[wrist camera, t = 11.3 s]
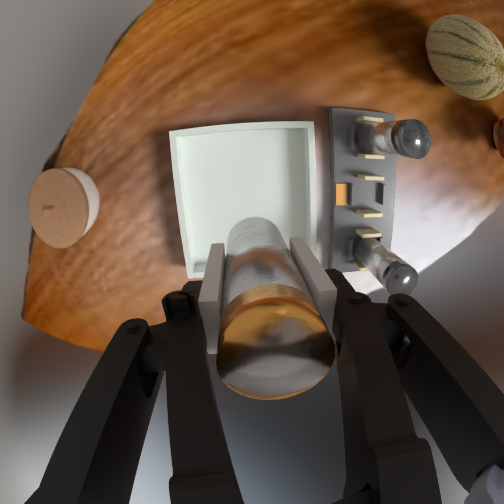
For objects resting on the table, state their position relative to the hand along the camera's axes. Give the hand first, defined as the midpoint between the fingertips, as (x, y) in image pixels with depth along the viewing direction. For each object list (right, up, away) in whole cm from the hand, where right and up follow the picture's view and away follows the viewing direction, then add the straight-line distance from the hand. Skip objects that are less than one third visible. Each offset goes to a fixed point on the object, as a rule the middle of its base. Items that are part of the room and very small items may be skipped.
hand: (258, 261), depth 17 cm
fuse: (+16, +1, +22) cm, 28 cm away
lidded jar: (-26, +9, +19) cm, 33 cm away
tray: (-1, +8, +20) cm, 22 cm away
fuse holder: (+16, +9, +21) cm, 28 cm away
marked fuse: (0, +1, +3) cm, 3 cm away
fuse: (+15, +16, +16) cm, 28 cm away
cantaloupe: (+32, +33, +12) cm, 48 cm away
